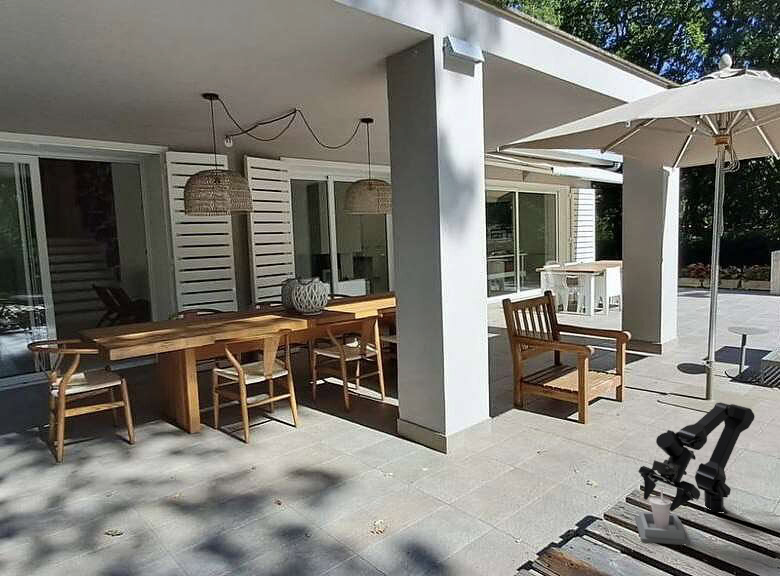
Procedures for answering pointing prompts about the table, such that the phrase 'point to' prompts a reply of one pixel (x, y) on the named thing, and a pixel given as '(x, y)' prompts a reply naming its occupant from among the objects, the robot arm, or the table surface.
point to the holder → (661, 530)
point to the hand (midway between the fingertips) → (657, 504)
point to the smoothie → (660, 510)
